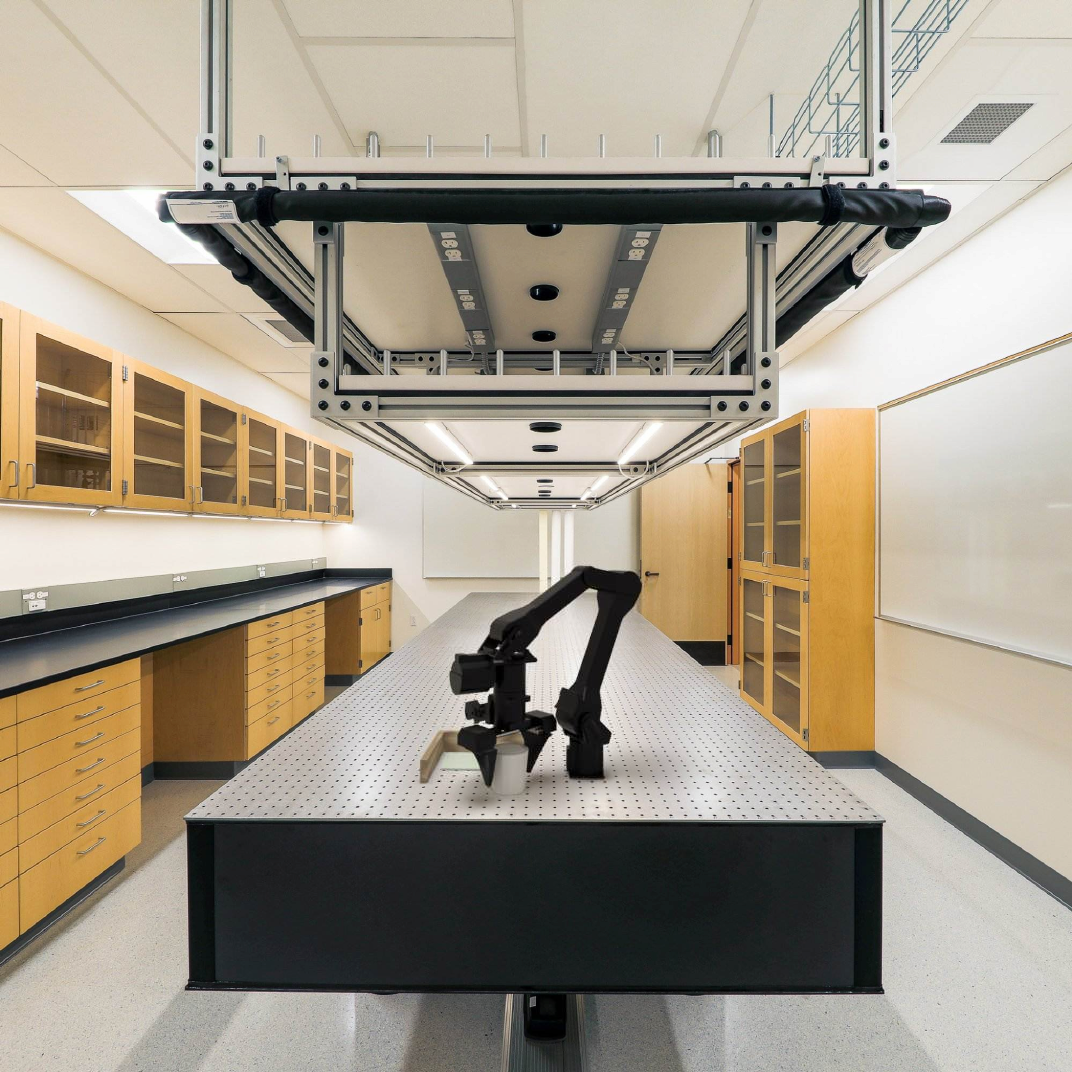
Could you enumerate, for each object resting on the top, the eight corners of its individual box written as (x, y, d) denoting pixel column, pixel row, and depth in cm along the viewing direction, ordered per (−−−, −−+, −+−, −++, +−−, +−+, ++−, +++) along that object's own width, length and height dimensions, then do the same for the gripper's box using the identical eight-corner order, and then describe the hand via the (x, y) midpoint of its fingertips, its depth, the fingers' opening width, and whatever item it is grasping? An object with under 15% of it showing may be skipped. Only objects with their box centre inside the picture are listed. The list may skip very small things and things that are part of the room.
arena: (524, 750, 124) (524, 731, 124) (520, 784, 106) (520, 761, 106) (438, 749, 124) (439, 730, 124) (419, 782, 106) (420, 760, 106)
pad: (492, 754, 121) (492, 753, 121) (487, 770, 112) (487, 768, 112) (448, 753, 121) (448, 752, 122) (440, 769, 112) (440, 768, 113)
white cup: (507, 778, 109) (507, 739, 109) (536, 787, 104) (536, 747, 104) (480, 789, 103) (481, 748, 103) (510, 800, 99) (510, 757, 99)
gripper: (518, 675, 117) (517, 755, 116) (438, 689, 104) (437, 779, 103) (559, 684, 108) (558, 770, 108) (478, 701, 96) (477, 799, 95)
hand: (508, 779), depth 104 cm, fingers open, 9 cm apart
